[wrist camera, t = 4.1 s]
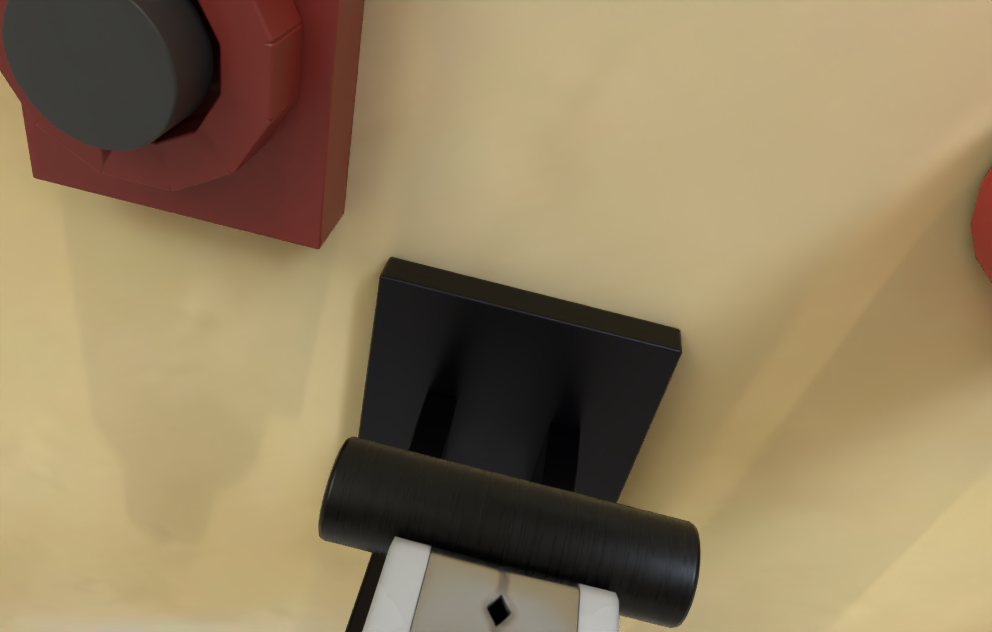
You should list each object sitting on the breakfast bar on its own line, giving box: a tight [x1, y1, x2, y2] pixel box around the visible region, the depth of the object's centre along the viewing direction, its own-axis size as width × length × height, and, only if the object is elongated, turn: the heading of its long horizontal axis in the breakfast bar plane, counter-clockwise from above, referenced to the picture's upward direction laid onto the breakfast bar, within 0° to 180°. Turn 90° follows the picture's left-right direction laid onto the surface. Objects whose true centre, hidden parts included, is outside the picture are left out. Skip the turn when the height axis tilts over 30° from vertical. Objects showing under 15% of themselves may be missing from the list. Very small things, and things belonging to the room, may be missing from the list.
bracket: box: [345, 257, 682, 632], centre depth 21 cm, size 12×9×14 cm
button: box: [2, 0, 214, 151], centre depth 16 cm, size 4×4×2 cm
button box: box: [0, 0, 364, 249], centre depth 18 cm, size 10×8×4 cm
